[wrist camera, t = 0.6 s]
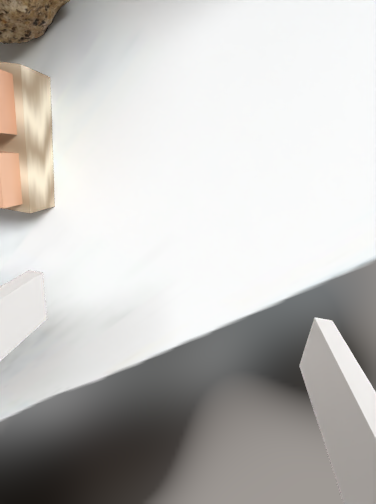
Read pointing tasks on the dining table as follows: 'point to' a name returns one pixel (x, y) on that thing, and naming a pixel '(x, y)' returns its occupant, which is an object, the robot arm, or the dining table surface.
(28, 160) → the board
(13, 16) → the rock
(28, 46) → the dining table surface
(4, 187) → the tile
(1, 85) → the tile
